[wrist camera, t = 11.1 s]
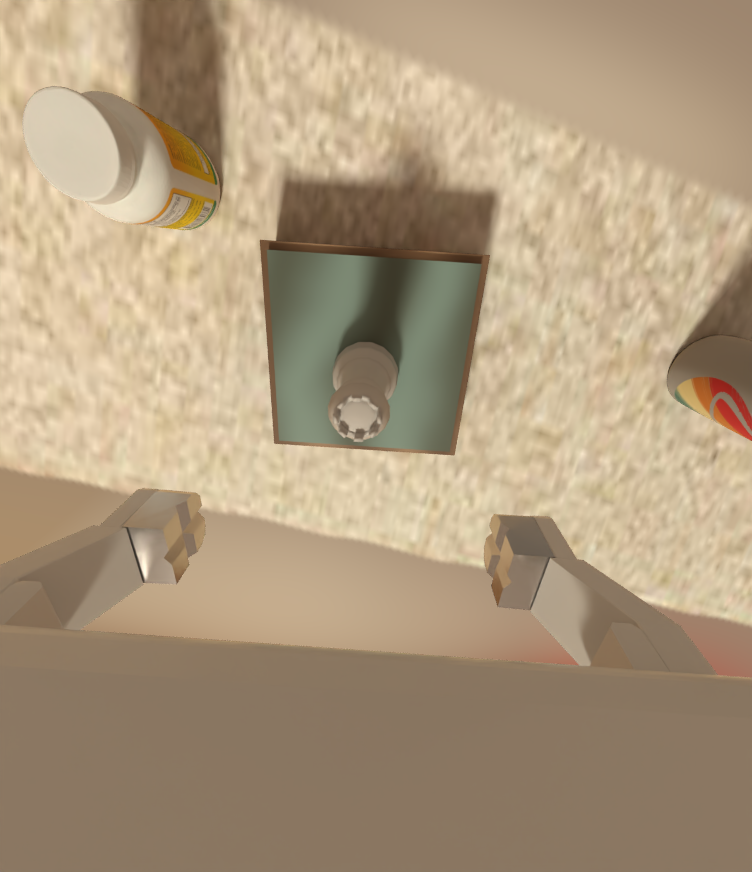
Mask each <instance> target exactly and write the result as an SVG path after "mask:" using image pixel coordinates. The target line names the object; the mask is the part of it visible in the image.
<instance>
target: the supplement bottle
mask: <svg viewBox="0 0 752 872" xmlns="http://www.w3.org/2000/svg"><path fill="white" fill-rule="evenodd" d="M23 134H24V139H25V143H26V146H27V149H28V152H29V154H30V156H31V158H32V160H33V162H34V164H35V165H36V167H37V168H38V170H39V171H40V173H41V174H42V175H43V176H44V178H45V179H46V180H47V181H48V182H49V183H50V184H51V185H53V186H54V187H55V188H56V189H58V190H59V191H60V192H62V193H64V194H65V195H67V196H69V197H72V198H74V199H77V200H81V201H85V202H86V203H87V204H88V205H89V206H90V207H92V208H93V209H94V210H96V211H97V212H99V213H100V214H102V215H104V216H106V217H108V218H110V219H112V220H115V221H119V222H122V223H129V224H137V225H145V226H153V227H162V228H170V229H178V230H194V229H198V228H200V227H202V226H204V225H206V224H207V223H208V222H209V221H210V220H211V219H212V218H213V217H214V215H215V213H216V212H217V209H218V206H219V202H220V184H219V178H218V175H217V172H216V170H215V168H214V165H213V164H212V162H211V160H210V158H209V157H208V155H207V154H206V153H205V151H204V150H203V149H202V148H201V147H200V146H199V145H198V144H197V143H196V142H195V141H193V140H192V139H191V138H189V137H188V136H186V135H184V134H183V133H181V132H179V131H178V130H176V129H174V128H172V127H170V126H169V125H167V124H165V123H164V122H162V121H160V120H159V119H157V118H155V117H154V116H152V115H150V114H149V113H147V112H145V111H144V110H142V109H140V108H139V107H137V106H135V105H134V104H132V103H130V102H128V101H127V100H125V99H123V98H121V97H119V96H117V95H114V94H111V93H106V92H100V91H90V92H84V93H78V92H76V91H74V90H71V89H68V88H65V87H57V86H51V87H46V88H43V89H41V90H39V91H37V92H36V93H34V95H33V96H32V97H31V98H30V99H29V101H28V103H27V105H26V107H25V110H24V115H23Z"/></svg>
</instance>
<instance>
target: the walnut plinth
mask: <svg viewBox="0 0 752 872" xmlns="http://www.w3.org/2000/svg"><path fill="white" fill-rule="evenodd" d="M260 247H261V262H262V276H263V290H264V304H265V318H266V332H267V346H268V360H269V374H270V389H271V403H272V417H273V431H274V444H289V445H304V446H320V447H335V448H350V449H365V450H381V451H396V452H411V453H427V454H442V455H455V449H456V444H457V438H458V432H459V427H460V421H461V415H462V410H463V404H464V398H465V393H466V387H467V382H468V376H469V370H470V365H471V359H472V353H473V348H474V342H475V336H476V331H477V325H478V320H479V314H480V308H481V303H482V297H483V291H484V286H485V280H486V274H487V269H488V263H489V257H490V255H478V254H463V253H448V252H433V251H418V250H403V249H388V248H373V247H358V246H343V245H328V244H313V243H299V242H284V241H269V240H260ZM357 342H372V343H375V344H377V345H380V346H382V347H384V348H385V349H386V350H387V351H388V352H389V353H390V354H391V355H392V356H393V358H394V360H395V362H396V365H397V367H398V381H397V386H396V388H395V390H394V392H393V395H392V396H391V397H390V398H389V399H388V400H387V401H388V403H389V406H390V418H389V421H388V423H387V425H386V427H385V429H383V430H382V431H381V432H380V433H379V434H378V435H377V436H374V437H373V438H369V439H366V440H363V442H354V439H351V438H348V437H345V438H343V437H342V436H341V435H340V434H339V433H338V431H337V430H336V429H335V428H334V427H333V425H332V423H331V421H330V419H329V416H328V404H329V402H330V399H331V396H332V395H333V394H334V393H335V392H336V390H335V388H334V386H333V376H332V372H333V367H334V364H335V361H336V358H337V356H338V355H339V354H340V353H341V352H342V351H343V350H344V349H345V348H346V347H348V346H350V345H353V344H355V343H357Z"/></svg>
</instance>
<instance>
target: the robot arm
mask: <svg viewBox="0 0 752 872" xmlns="http://www.w3.org/2000/svg"><path fill="white" fill-rule="evenodd" d="M201 506H202V503H201V499H200V495H198V494H197V493H193V492H182V491H172V490H158V489H147V488H142V489H138V490H137V491H136V492H135V493H133V494H132V495H131V496H130V497H129V498H128V499H127V500H126V501H125V502H124V503H123V504H122V505H121V506H120V507H119V508H118V509H117V510H115V511H114V513H112V515H110V516H109V517H108V518H107V519H106V520H105V521H104V522H103V523H102V524H101V525H100V526H91V527H88V528H86V529H84V530H81V531H79V532H77V533H74V534H72V535H70V536H67V537H65V538H62V539H60V540H58V541H55V542H53V543H51V544H49V545H46V546H44V547H41V548H39V549H36V550H34V551H32V552H30V553H27V554H25V555H22V556H20V557H18V558H15V559H13V560H11V561H8V562H6V563H3V564H1V565H0V872H752V678H748V677H734V676H720V675H718V674H717V673H716V672H715V670H714V669H713V668H712V666H711V665H710V664H709V663H708V661H707V660H706V659H705V657H704V656H703V655H702V654H701V652H700V651H699V650H698V648H697V647H696V646H695V644H694V643H693V642H692V641H691V639H690V638H689V637H688V635H687V634H686V633H685V631H684V630H683V629H682V627H681V626H679V625H678V624H677V623H675V622H674V621H672V620H671V619H669V618H668V617H666V616H665V615H664V614H662V613H661V612H659V611H657V610H656V609H655V608H653V607H652V606H650V605H649V604H647V603H646V602H644V601H643V600H641V599H640V598H638V597H637V596H635V595H634V594H633V593H631V592H630V591H628V590H627V589H625V588H624V587H622V586H621V585H619V584H618V583H616V582H615V581H613V580H612V579H610V578H609V577H607V576H606V575H605V574H603V573H602V572H600V571H599V570H597V569H596V568H594V567H593V566H591V565H590V564H588V563H587V562H585V561H584V560H577V558H576V557H575V555H574V553H573V552H572V550H571V548H570V547H569V545H568V544H567V542H566V540H565V539H564V537H563V535H562V534H561V532H560V530H559V529H558V527H557V526H556V524H555V522H554V521H553V519H552V518H550V517H548V516H517V515H502V514H494V515H493V516H492V518H491V522H490V525H489V526H490V529H491V531H492V534H491V535H489V536H488V537H487V538H486V541H485V546H484V562H485V567H486V570H487V573H488V574H489V575H490V576H491V577H493V581H492V585H491V587H492V590H493V593H494V597H495V600H496V603H497V606H498V607H503V608H513V609H523V610H531V611H530V612H531V613H532V614H533V615H534V616H535V617H536V618H537V620H538V621H540V623H541V624H542V625H543V626H544V627H545V628H546V629H547V630H548V631H549V632H550V634H551V635H552V636H553V637H554V638H555V639H556V640H557V641H558V642H559V643H560V644H561V646H562V647H563V648H564V649H565V650H566V651H567V652H568V653H569V654H570V655H571V656H572V657H573V659H574V660H575V661H576V662H577V663H578V664H579V665H580V666H578V665H565V664H550V663H536V662H522V661H521V662H520V661H508V660H493V659H479V658H465V657H451V656H436V655H423V654H410V653H395V652H381V651H368V650H353V649H339V648H324V647H311V646H297V645H283V644H269V643H254V642H240V641H226V640H212V639H197V638H183V637H168V636H155V635H141V634H127V633H112V632H98V631H85V630H81V629H82V628H84V627H85V626H86V625H88V624H89V623H91V622H92V621H93V620H95V619H96V618H98V617H99V616H100V615H102V614H103V613H104V612H106V611H107V610H109V609H110V608H112V607H113V606H114V605H116V604H117V603H118V602H120V601H121V600H123V599H124V598H125V597H127V596H128V595H130V594H131V593H133V592H134V591H135V590H137V589H138V588H139V587H141V586H142V585H143V583H159V584H177V583H178V582H179V580H180V578H181V577H182V575H183V574H184V572H185V571H186V569H187V567H188V566H189V560H188V557H190V556H192V555H193V554H195V553H196V552H198V550H199V548H200V547H201V545H202V543H203V539H204V536H205V527H206V526H205V519H204V517H203V516H202V515H201V514H200V513H199V512H198V510H199V509H200V507H201Z"/></svg>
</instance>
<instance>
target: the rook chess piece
mask: <svg viewBox="0 0 752 872" xmlns="http://www.w3.org/2000/svg"><path fill="white" fill-rule="evenodd" d="M332 376H333V386H334V388H335V390H336V392H335V393H334V394H333V395H332V396H331V399H330V402H329V404H328V416H329V419H330V421H331V423H332V425H333V427H334V428H335V429H336V430H337V431H338V433H339V434H340V435H341V436H342V437H343V438H345V437H348V438H351V439H354V442H363V440H366V439H369V438H373V437H374V436H377V435H378V434H379V433H380V432H381V431H382V430H383V429H385V427H386V425H387V423H388V421H389V418H390V406H389V403H388V401H387V400H388V399H389V398H390V397H391V396H392V395H393V392H394V390H395V388H396V386H397V381H398V367H397V365H396V362H395V360H394V358H393V356H392V355H391V354H390V353H389V352H388V351H387V350H386V349H385V348H384V347H382V346H380V345H377V344H375V343H372V342H357V343H355V344H353V345H350V346H348V347H346V348H345V349H344V350H343V351H342V352H341V353H340V354H339V355H338V356H337V358H336V361H335V364H334V367H333V372H332Z"/></svg>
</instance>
